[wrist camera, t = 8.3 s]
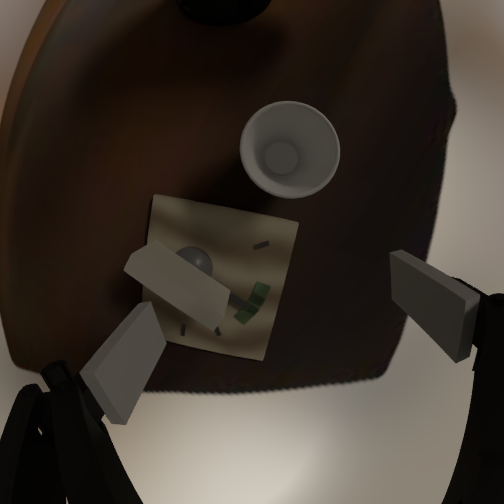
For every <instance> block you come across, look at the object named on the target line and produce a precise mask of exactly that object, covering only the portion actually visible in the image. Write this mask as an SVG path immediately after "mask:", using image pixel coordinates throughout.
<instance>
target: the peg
mask: <svg viewBox="0 0 504 504" xmlns="http://www.w3.org/2000/svg"><path fill="white" fill-rule="evenodd" d="M124 271H125V272H126V273H128V274H129V275H131V276H132V277H133V278H135V279H136V280H137V281H139V282H140V283H142V284H143V285H144V286H146V287H147V288H149V289H150V290H151V291H153V292H154V293H156V294H157V295H159V296H160V297H161V298H163V299H164V300H166V301H167V302H169V303H170V304H172V305H173V306H175V307H176V308H178V309H179V310H181V311H182V312H184V313H185V314H187V315H188V316H190V317H192V318H193V319H195V320H196V321H198V322H199V323H201V324H202V325H204V326H206V327H207V328H209V329H210V330H212V331H214V330H215V329H216V327H217V326H218V325H219V323H220V322H221V321H222V320H223V318H224V316H225V312H226V307H227V303H228V299H230V300H231V301H233V302H234V303H236V304H237V305H239V306H241V307H242V308H244V309H245V310H246V308H247V307H248V306H249V303H247V302H246V301H244V300H243V299H241V298H240V297H238V296H237V295H235V294H234V293H232V292H230V290H229V289H228V288H226V287H225V286H223V285H222V284H220V283H219V282H217V281H216V280H214V279H213V278H211V276H212V272H213V264H212V261H211V259H210V257H209V255H208V254H207V253H206V252H205V251H203V250H202V249H200V248H198V247H193V246H188V247H184V248H181V249H180V250H178V251H177V252H176V253H174V252H173V251H171V250H170V249H169V248H167V247H166V246H164V245H163V244H161V243H160V242H159V241H157V240H154V241H153V242H151V243H149V244H148V245H146V246H144V247H143V248H141V249H139V250H137V251H136V252H134V253H132V254H131V256H130V258H129V260H128V262H127V264H126V266H125V268H124Z"/></svg>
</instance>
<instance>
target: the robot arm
mask: <svg viewBox="0 0 504 504" xmlns="http://www.w3.org/2000/svg"><path fill="white" fill-rule="evenodd" d="M270 2H271V0H177V3H178V5H179V7H180V10H181V11H182V13H183V14H184V15H185V16H186V17H188V18H189V19H191V20H193V21H195V22H198V23H201V24H206V25H231V24H236V23H240V22H243V21H246V20H249V19H251V18H253V17H255V16H257V15H259V14H260V13H261V12H263V11H264V10H265V9H266V8H267V7H268V5H269V4H270ZM390 265H391V285H392V300H393V301H394V302H396V303H397V304H398V305H399V306H400V307H401V308H402V309H403V310H404V311H405V312H406V313H407V314H408V315H409V316H410V317H411V318H412V319H413V320H414V321H415V322H416V323H417V324H418V325H419V326H420V327H421V328H422V329H423V330H424V331H425V332H426V333H427V334H428V335H429V336H430V337H431V338H432V339H433V340H434V341H435V342H436V343H437V344H438V345H439V346H440V347H441V348H442V349H443V350H444V351H445V353H447V355H449V357H450V358H451V359H452V360H453V361H454V362H455V363H458V362H460V361H462V360H464V359H466V358H468V357H469V356H470V352H471V348H472V344H473V345H475V347H477V348H478V349H477V354H476V358H475V362H474V365H473V369H472V371H475V373H474V381H473V389H472V396H471V403H470V408H469V414H468V420H467V424H466V429H465V433H464V437H463V441H462V445H461V449H460V453H459V457H458V460H457V463H456V466H455V469H454V472H453V476H452V478H451V481H450V485H449V487H448V489H447V492H446V495H445V497H444V499H443V502H442V504H504V294H501V293H497V294H492V295H490V296H488V295H486V294H485V293H483V292H481V291H480V290H478V289H476V288H475V287H473V286H471V285H469V284H467V283H466V282H464V281H463V280H461V279H458V278H454V277H450V276H448V275H446V274H445V273H443V272H441V271H439V270H438V269H436V268H434V267H432V266H430V265H429V264H427V263H425V262H423V261H422V260H420V259H418V258H416V257H414V256H412V255H410V254H409V253H407V252H405V251H403V250H399V251H394V252H390ZM166 344H167V343H166V341H165V338H164V336H163V333H162V331H161V328H160V325H159V323H158V320H157V317H156V315H155V312H154V309H153V306H152V303H151V301H149V302H143V303H139V304H138V305H137V306H136V307H135V308H134V309H133V310H132V311H131V313H130V314H129V315H128V316H127V317H126V318H125V319H124V321H123V322H122V323H121V324H120V325H119V326H118V327H117V328H116V330H115V331H114V332H113V333H112V334H111V335H110V337H109V338H108V339H107V340H106V341H105V342H104V344H103V345H102V346H101V347H100V348H99V349H98V350H97V351H96V352H95V353H94V354H93V355H92V356H91V357H90V360H88V361H87V362H86V364H85V365H84V366H83V367H82V368H81V369H80V371H79V372H78V373H77V374H76V375H75V377H74V376H73V374H72V372H71V371H70V369H69V367H68V365H67V363H66V362H65V361H63V360H58V361H55V362H52V363H50V364H48V365H47V366H46V367H44V368H43V370H42V371H41V376H42V378H43V379H44V381H45V383H46V384H47V386H48V388H49V389H50V392H44V393H43V392H42V391H41V389H40V387H39V386H38V385H37V384H29V385H26V386H24V387H23V388H22V389H21V390H20V391H19V393H18V394H17V397H16V399H15V402H14V404H13V406H12V409H11V412H10V414H9V417H8V419H7V422H6V425H5V427H4V431H3V434H2V436H1V439H0V504H66V497H67V501H68V504H143V502H142V501H141V499H140V497H139V495H138V494H137V492H136V490H135V488H134V486H133V485H132V483H131V481H130V479H129V477H128V475H127V473H126V471H125V469H124V467H123V465H122V463H121V461H120V459H119V456H118V454H117V452H116V450H115V448H114V445H113V443H112V441H111V438H110V436H109V433H108V431H107V428H106V426H105V424H104V423H103V422H102V421H101V419H102V417H103V416H104V414H105V415H106V417H107V418H108V419H109V421H110V422H111V423H112V424H121V425H126V423H127V421H128V419H129V417H130V415H131V413H132V411H133V409H134V407H135V405H136V403H137V401H138V399H139V397H140V395H141V393H142V391H143V389H144V387H145V385H146V383H147V381H148V379H149V377H150V375H151V373H152V371H153V369H154V367H155V365H156V363H157V361H158V359H159V357H160V355H161V353H162V352H163V350H164V348H165V346H166ZM38 428H39V429H40V430H41V432H42V435H41V434H40V432H39V430H38Z"/></svg>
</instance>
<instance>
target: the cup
mask: <svg viewBox="0 0 504 504" xmlns="http://www.w3.org/2000/svg"><path fill="white" fill-rule="evenodd" d="M240 156H241V161H242V164H243V166H244V169H245V171H246V172H247V174H248V176H249V177H250V179H251V180H252V181H253V182H254V183H255V184H256V185H257V186H258V187H260V188H261V189H263V190H264V191H265V192H268V193H270V194H272V195H274V196H278V197H282V198H293V199H294V198H301V197H306V196H309V195H311V194H314V193H315V192H317V191H319V190H321V189H322V188H323V187H324V186H325V185H326V184H327V183H328V182H329V181H330V180H331V178H332V177H333V176H334V174H335V171H336V169H337V167H338V163H339V159H340V145H339V140H338V137H337V134H336V132H335V129H334V128H333V126H332V124H331V123H330V121H329V120H328V119H327V118H326V117H325V116H324V115H323V114H322V113H320V112H319V111H318V110H316V109H315V108H313V107H311V106H309V105H307V104H303V103H300V102H293V101H283V102H276V103H273V104H270V105H267V106H265V107H264V108H262V109H260V110H259V111H257V112H256V113H255V114H254V115H253V116H252V117H251V118H250V120H249V121H248V122H247V123H246V126H245V128H244V130H243V132H242V135H241V139H240Z"/></svg>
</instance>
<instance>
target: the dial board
mask: <svg viewBox="0 0 504 504" xmlns="http://www.w3.org/2000/svg"><path fill="white" fill-rule="evenodd" d="M298 224H299V223H298V222H295V221H290V220H286V219H281V218H277V217H272V216H268V215H263V214H258V213H253V212H248V211H244V210H239V209H234V208H229V207H224V206H218V205H213V204H208V203H203V202H197V201H192V200H187V199H181V198H176V197H170V196H164V195H158V194H155V195H154V197H153V204H152V210H151V217H150V224H149V232H148V240H147V245H148V244H149V243H151V242H153V241H154V240H157V241H159V242H160V243H161V244H163V245H164V246H166V247H167V248H169V249H170V250H171V251H173V252H174V253H176V252H177V251H178V250H180V249H181V248H184V247H188V246H193V247H198V248H200V249H202V250H203V251H205V252H206V253H207V254H208V255H209V257H210V259H211V261H212V264H213V272H212V276H211V278H213V279H214V280H216V281H217V282H219V283H220V284H222V285H223V286H225V287H226V288H228V289H229V290H230V292H232V293H234V294H235V295H237V296H238V297H240V298H241V299H243V300H244V301H246V302H247V303H249V306H248V307H247V308H246V310H245V309H244V308H242V307H241V306H239V305H237V304H236V303H234V302H233V301H231V300H230V299H228V303H227V307H226V312H225V316H224V318H223V320H222V321H221V322H220V323H219V325H218V326H217V327H216V329H215V330H214V331H212V330H210V329H209V328H207V327H206V326H204V325H202V324H201V323H199V322H198V321H196V320H195V319H193V318H192V317H190V316H188V315H187V314H185V313H184V312H182V311H181V310H179V309H178V308H176V307H175V306H173V305H172V304H170V303H169V302H167V301H166V300H164V299H163V298H161V297H160V296H159V295H157V294H156V293H154V292H153V291H151V290H150V289H149V288H147V287H146V286H144V285H143V294H142V303H143V302H149V301H151V303H152V306H153V309H154V312H155V315H156V317H157V320H158V323H159V325H160V328H161V331H162V333H163V336H164V338H165V340H166V341H170V342H174V343H178V344H182V345H186V346H190V347H194V348H199V349H203V350H208V351H213V352H217V353H222V354H227V355H233V356H238V357H243V358H249V359H255V360H261V361H263V359H264V355H265V352H266V348H267V345H268V341H269V337H270V334H271V330H272V327H273V323H274V319H275V316H276V312H277V308H278V304H279V301H280V297H281V293H282V289H283V285H284V281H285V277H286V273H287V269H288V265H289V261H290V257H291V253H292V249H293V245H294V241H295V237H296V233H297V228H298Z"/></svg>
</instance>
